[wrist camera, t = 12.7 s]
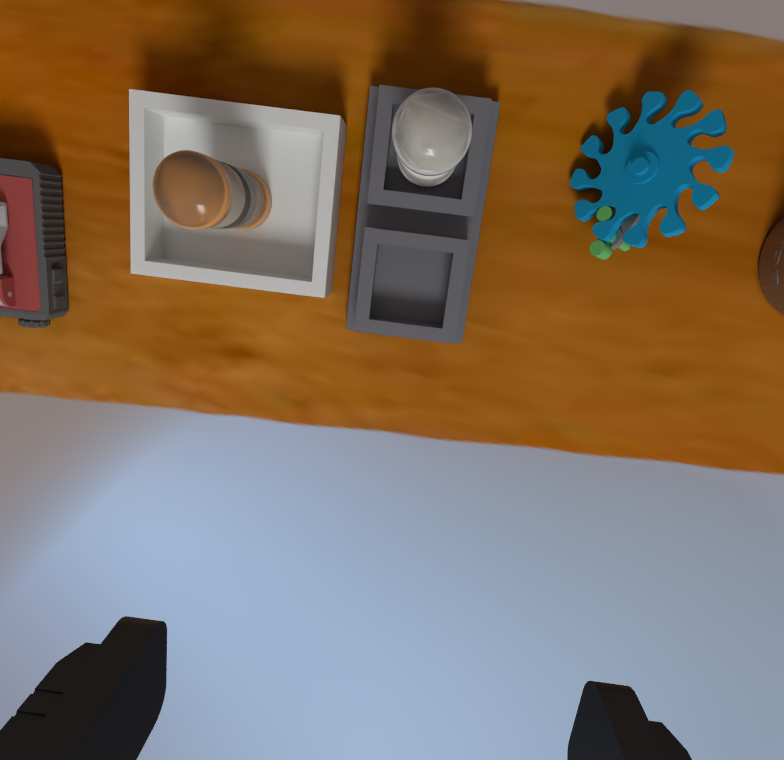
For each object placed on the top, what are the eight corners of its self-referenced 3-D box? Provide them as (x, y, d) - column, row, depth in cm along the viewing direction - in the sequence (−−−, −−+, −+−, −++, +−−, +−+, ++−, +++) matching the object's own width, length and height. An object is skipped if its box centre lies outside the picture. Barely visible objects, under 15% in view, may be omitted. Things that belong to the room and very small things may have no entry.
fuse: (461, 127, 38) (477, 92, 28) (452, 191, 39) (465, 178, 29) (401, 120, 38) (397, 82, 28) (394, 183, 39) (387, 168, 29)
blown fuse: (273, 173, 39) (227, 154, 30) (270, 232, 41) (225, 233, 31) (216, 166, 39) (152, 146, 30) (215, 226, 41) (152, 224, 31)
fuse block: (371, 90, 38) (367, 77, 35) (497, 106, 38) (505, 95, 35) (347, 326, 43) (342, 333, 40) (460, 340, 43) (464, 349, 40)
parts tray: (346, 125, 39) (340, 115, 35) (331, 292, 42) (324, 297, 39) (154, 101, 39) (129, 88, 36) (154, 269, 42) (130, 273, 39)
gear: (625, 65, 36) (770, 112, 30) (656, 103, 40) (788, 151, 34) (531, 217, 40) (642, 285, 34) (568, 237, 44) (672, 300, 38)
